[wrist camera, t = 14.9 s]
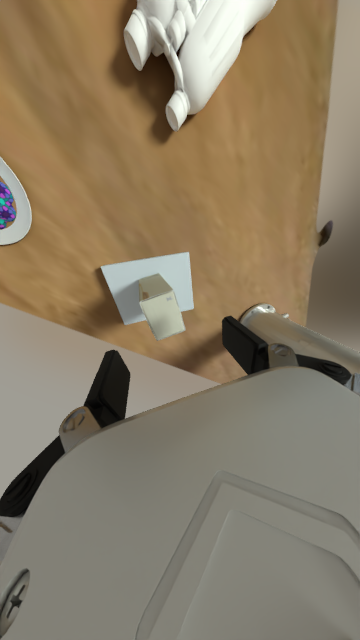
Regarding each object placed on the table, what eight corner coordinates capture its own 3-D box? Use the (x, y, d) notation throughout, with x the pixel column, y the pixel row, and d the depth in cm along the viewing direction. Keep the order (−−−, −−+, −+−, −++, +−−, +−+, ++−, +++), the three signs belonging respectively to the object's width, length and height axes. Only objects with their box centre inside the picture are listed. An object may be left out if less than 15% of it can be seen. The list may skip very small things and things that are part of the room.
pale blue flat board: (184, 252, 27) (188, 252, 24) (189, 304, 33) (193, 308, 30) (104, 264, 24) (100, 266, 22) (126, 318, 30) (124, 324, 28)
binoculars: (261, 30, 17) (299, -40, 13) (180, 150, 20) (189, 125, 16) (215, -156, 12) (253, -371, 8) (116, 46, 15) (106, -31, 11)
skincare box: (137, 279, 24) (136, 299, 14) (159, 272, 25) (173, 286, 14) (150, 308, 27) (156, 342, 17) (168, 302, 28) (186, 331, 18)
